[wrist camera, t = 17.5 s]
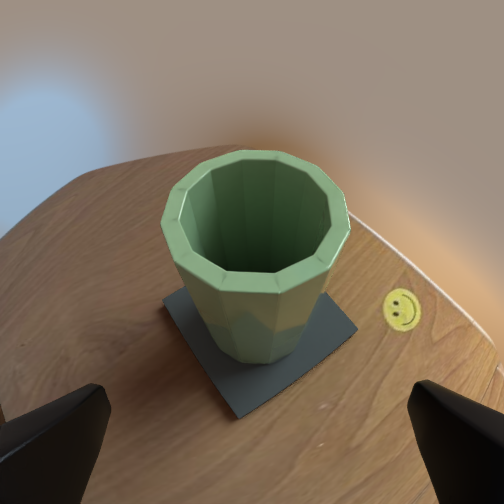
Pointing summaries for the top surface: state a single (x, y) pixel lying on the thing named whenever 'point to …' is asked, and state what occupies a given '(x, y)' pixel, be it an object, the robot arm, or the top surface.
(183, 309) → the mat
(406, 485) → the top surface
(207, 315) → the green faceted tube
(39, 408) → the robot arm
